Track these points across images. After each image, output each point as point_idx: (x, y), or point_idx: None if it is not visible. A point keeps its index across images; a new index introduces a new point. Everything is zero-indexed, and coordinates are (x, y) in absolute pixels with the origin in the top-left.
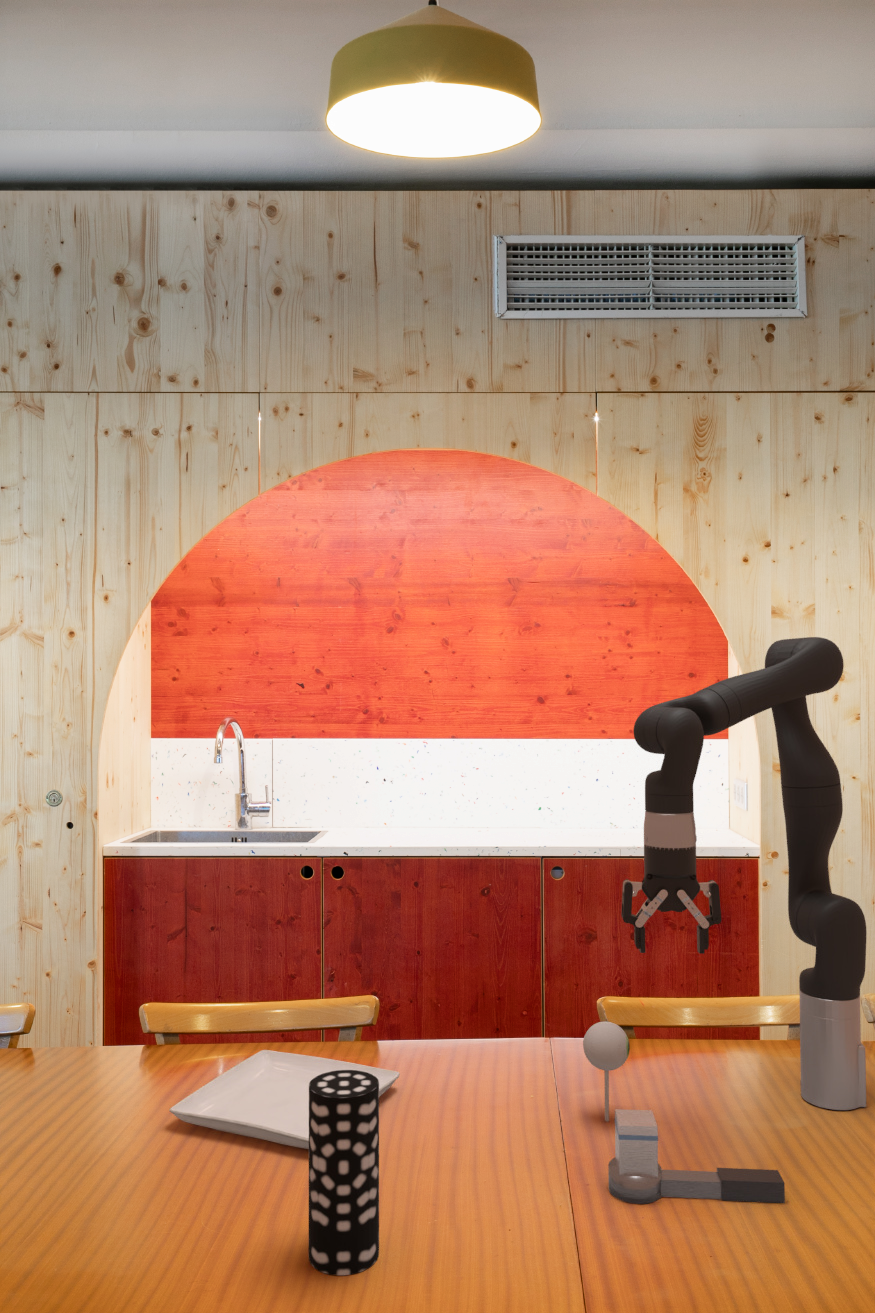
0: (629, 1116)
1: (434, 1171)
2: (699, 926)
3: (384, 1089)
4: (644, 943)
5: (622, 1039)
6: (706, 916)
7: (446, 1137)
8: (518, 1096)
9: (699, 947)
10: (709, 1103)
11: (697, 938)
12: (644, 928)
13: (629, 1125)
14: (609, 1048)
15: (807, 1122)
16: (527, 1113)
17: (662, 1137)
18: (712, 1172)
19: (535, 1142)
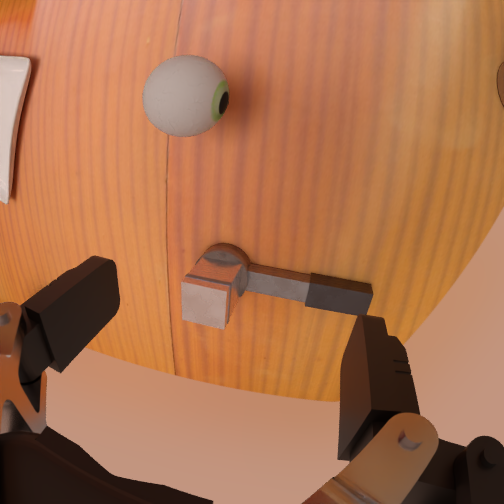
0: (196, 302)
1: (70, 217)
2: (359, 445)
3: (23, 90)
4: (95, 331)
5: (200, 121)
6: (414, 492)
7: (71, 154)
8: (133, 45)
9: (341, 379)
10: (382, 60)
11: (360, 363)
12: (58, 371)
13: (193, 321)
14: (179, 136)
15: (479, 140)
16: (137, 88)
17: (287, 151)
18: (304, 283)
19: (140, 161)
